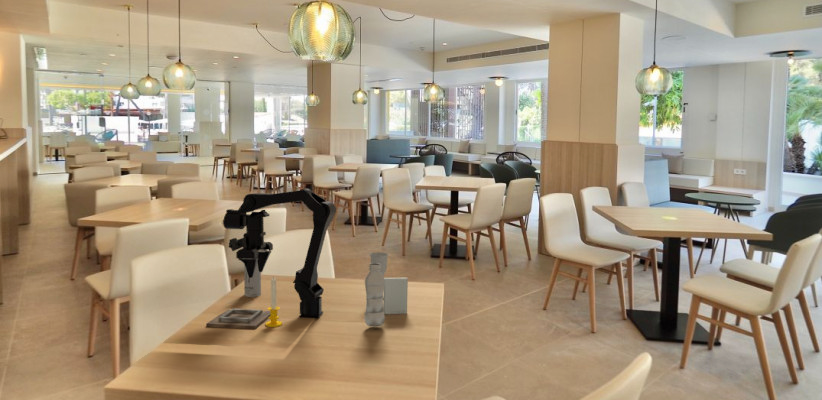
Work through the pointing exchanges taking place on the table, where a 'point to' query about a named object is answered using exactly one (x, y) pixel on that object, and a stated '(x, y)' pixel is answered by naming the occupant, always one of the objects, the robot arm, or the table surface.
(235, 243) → the robot arm
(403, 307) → the external hard drive
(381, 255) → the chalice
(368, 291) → the plastic bottle
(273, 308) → the candle
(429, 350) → the table surface
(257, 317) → the socket board
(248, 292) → the energy drink can
